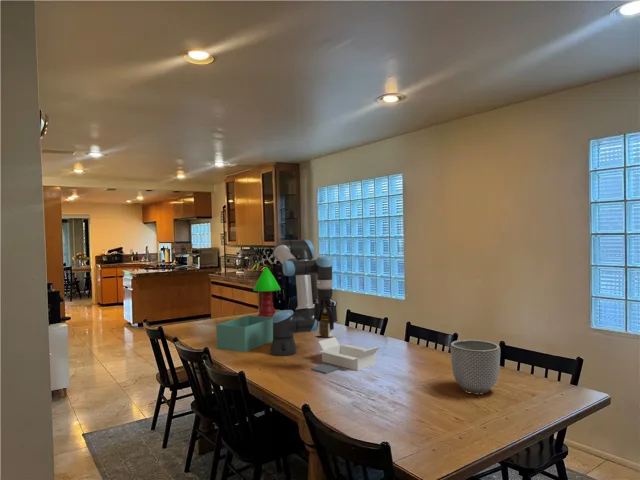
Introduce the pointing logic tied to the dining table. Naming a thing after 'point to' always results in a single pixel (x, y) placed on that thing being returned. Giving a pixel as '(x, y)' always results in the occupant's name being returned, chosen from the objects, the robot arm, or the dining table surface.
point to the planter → (475, 364)
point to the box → (244, 333)
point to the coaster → (325, 368)
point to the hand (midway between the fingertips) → (325, 335)
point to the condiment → (324, 326)
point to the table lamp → (266, 292)
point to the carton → (347, 355)
